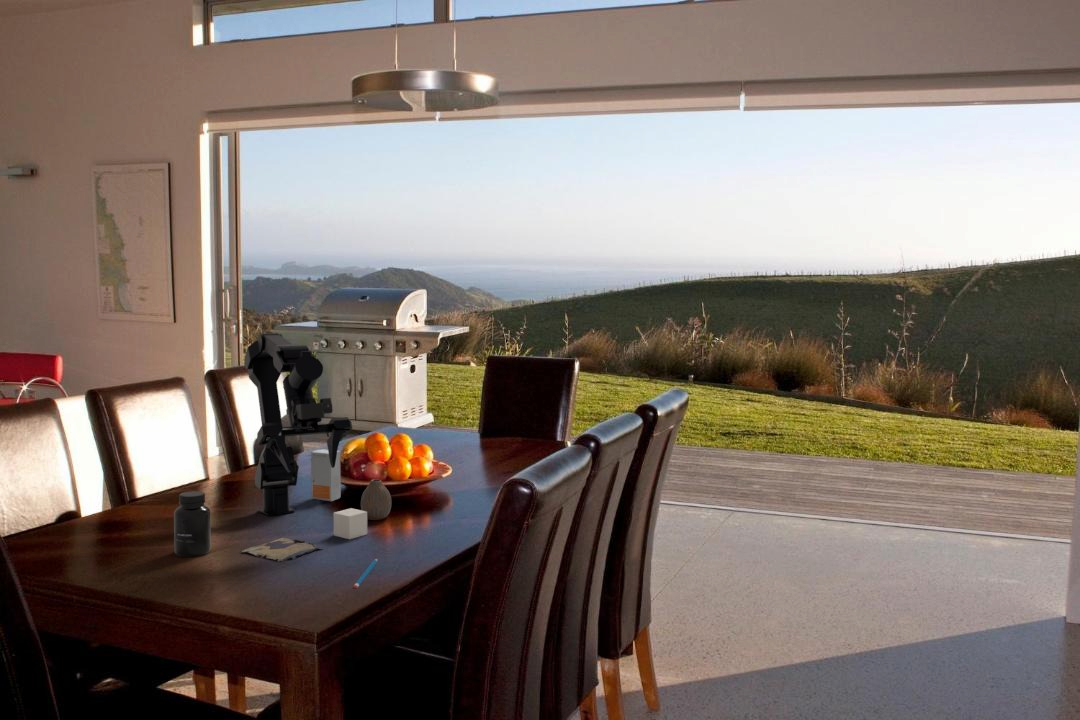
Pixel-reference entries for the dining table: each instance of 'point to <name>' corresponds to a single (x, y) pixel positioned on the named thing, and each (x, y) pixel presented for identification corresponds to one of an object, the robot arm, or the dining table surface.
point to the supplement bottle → (192, 525)
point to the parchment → (281, 553)
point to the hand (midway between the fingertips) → (311, 469)
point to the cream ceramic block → (350, 523)
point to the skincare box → (325, 476)
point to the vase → (376, 500)
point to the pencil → (365, 574)
